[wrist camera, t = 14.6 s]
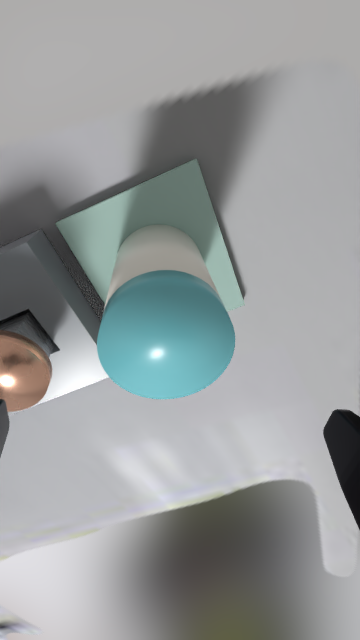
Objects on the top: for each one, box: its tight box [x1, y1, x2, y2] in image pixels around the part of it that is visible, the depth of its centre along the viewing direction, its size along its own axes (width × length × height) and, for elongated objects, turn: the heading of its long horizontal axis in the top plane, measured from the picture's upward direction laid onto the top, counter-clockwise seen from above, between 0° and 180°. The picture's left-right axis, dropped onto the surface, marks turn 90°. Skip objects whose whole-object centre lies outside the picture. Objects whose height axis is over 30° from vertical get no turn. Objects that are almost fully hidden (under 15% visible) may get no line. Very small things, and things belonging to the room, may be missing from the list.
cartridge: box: [97, 224, 235, 399], centre depth 15 cm, size 5×5×8 cm
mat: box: [56, 159, 245, 312], centre depth 18 cm, size 9×8×1 cm
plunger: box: [0, 309, 55, 412], centre depth 17 cm, size 4×4×6 cm
